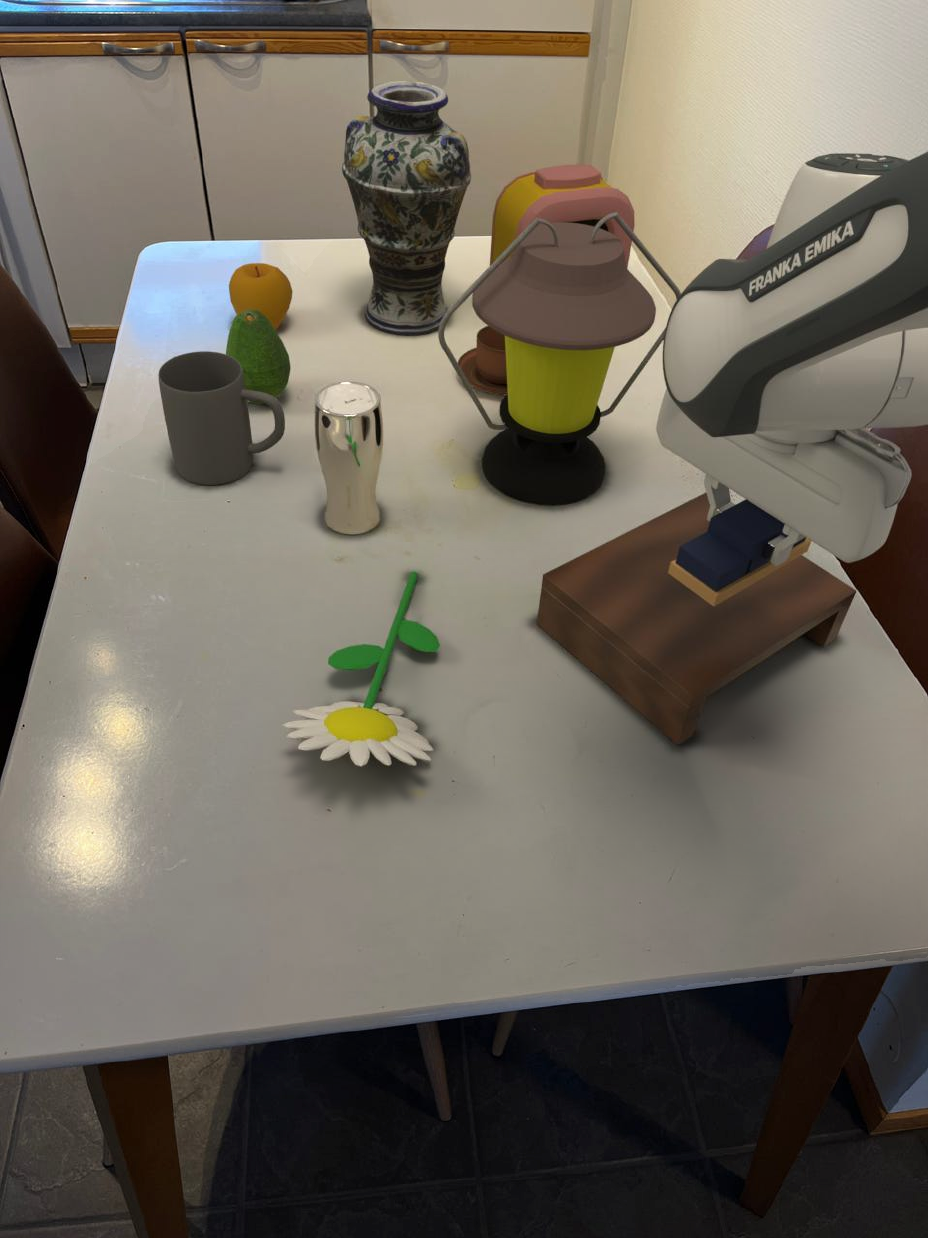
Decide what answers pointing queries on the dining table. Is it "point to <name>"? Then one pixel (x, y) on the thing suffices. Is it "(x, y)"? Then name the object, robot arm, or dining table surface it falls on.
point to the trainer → (730, 553)
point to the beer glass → (349, 454)
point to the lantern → (557, 353)
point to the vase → (406, 201)
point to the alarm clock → (558, 204)
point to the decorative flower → (368, 704)
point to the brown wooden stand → (679, 618)
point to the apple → (261, 291)
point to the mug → (212, 417)
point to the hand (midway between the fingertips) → (745, 540)
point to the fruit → (259, 353)
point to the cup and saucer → (486, 362)
